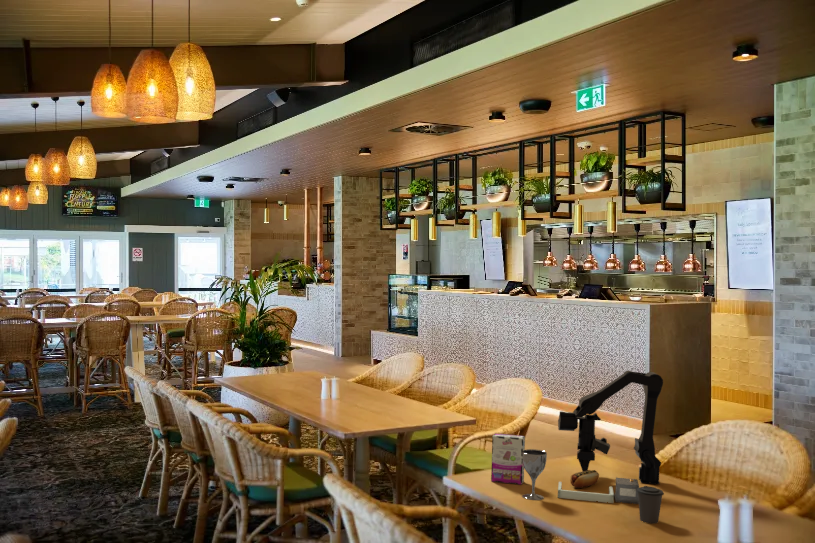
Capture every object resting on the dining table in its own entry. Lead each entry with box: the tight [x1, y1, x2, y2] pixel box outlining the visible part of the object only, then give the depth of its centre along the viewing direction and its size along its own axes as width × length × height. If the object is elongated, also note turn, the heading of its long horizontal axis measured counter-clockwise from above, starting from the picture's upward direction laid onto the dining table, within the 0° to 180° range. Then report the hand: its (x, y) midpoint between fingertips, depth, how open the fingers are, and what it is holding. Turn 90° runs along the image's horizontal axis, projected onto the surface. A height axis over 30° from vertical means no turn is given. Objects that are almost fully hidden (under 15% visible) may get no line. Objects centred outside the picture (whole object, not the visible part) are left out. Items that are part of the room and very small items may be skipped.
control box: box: [613, 477, 640, 505], centre depth 260 cm, size 8×9×6 cm
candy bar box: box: [490, 433, 526, 485], centre depth 277 cm, size 11×5×16 cm, turn 73°
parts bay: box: [557, 481, 615, 504], centre depth 263 cm, size 18×11×2 cm, turn 77°
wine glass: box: [521, 448, 548, 501], centre depth 259 cm, size 8×8×15 cm
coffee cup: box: [636, 485, 665, 524], centre depth 238 cm, size 8×8×10 cm
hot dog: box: [570, 469, 600, 489], centre depth 275 cm, size 5×13×5 cm, turn 131°
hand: (585, 474), depth 285 cm, fingers closed
